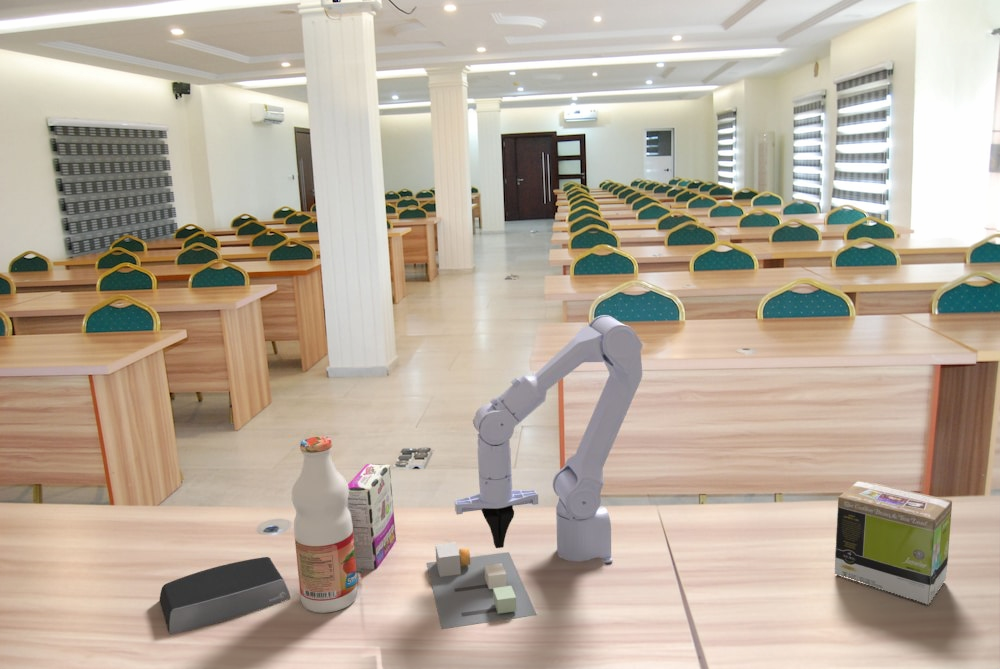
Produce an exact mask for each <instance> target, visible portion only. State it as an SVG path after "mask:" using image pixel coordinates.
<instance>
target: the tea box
mask: <svg viewBox="0 0 1000 669" xmlns="http://www.w3.org/2000/svg"><path fill="white" fill-rule="evenodd" d="M837 499H838V500H837V514H836V515H837V516H836V517H837V518H836V534H835V535H836V537H835V551H834V554H835V555H834V558H835V560H834V575H835V574H837V575H841V576H843V577H844V576H845V577H848V578H851V579H854V580H856V581H860V582H863V583H865V584H868V585H871V586H873V587H876V588H875V589H877V588H880V589H883V590H886V591H888V592H887V593H889V592H891V593H890V594H893V593H895V594H894V595H896V594H898V595H897V596H899V595H901V596H900V597H902V596H904V597H903V598H905V597H906V598H905V599H908V598H911V599H914V600H913V601H915V600H917V601H916V602H918V601H920V602H919V603H921V602H922V604H924V603H925V604H924V605H927V604H929V603H930V604H931V603H932V601H933V599H934V598H935V597H936V595H937V594H938V592H939V591H938V589H939V588H940V587H941V585H942V584H943V582H944V581H945V582H946V578H947V572H948V561H949V547H950V536H951V524H952V522H951V521H952V512H953V511H952V510H953V509H952V506H953V500H950V499H947V498H942V497H937V496H934V495H929V494H925V493H921V492H915V491H912V490H907V489H902V488H898V487H894V486H889V485H885V484H880V483H876V482H872V481H868V480H867V481H866V480H862V479H859V480H857V481H856V482H855V483H854V484H853V485H851V486H850V487H849V488H848V489H847V490H846V491H844V492H843V493H842V494H840V495H839V496H838V498H837ZM943 585H944V584H943ZM873 587H872V588H873ZM941 588H942V587H941ZM941 588H940V589H941ZM880 589H879V590H880ZM883 590H882V591H883ZM886 591H885V592H886ZM937 591H938V592H937ZM936 593H937V594H936ZM935 594H936V595H935ZM907 597H908V598H907ZM933 597H934V598H933ZM911 599H910V600H911ZM931 600H932V601H931ZM930 604H929V605H930Z"/></svg>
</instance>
